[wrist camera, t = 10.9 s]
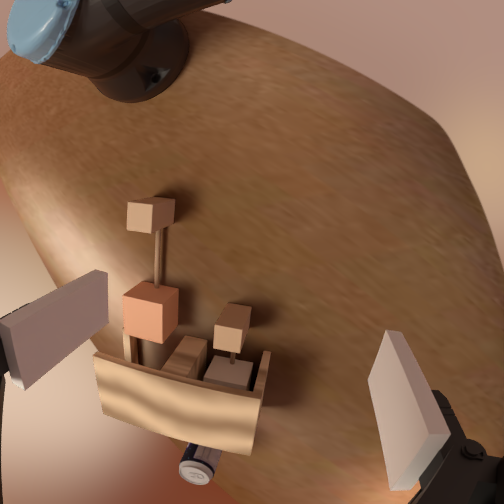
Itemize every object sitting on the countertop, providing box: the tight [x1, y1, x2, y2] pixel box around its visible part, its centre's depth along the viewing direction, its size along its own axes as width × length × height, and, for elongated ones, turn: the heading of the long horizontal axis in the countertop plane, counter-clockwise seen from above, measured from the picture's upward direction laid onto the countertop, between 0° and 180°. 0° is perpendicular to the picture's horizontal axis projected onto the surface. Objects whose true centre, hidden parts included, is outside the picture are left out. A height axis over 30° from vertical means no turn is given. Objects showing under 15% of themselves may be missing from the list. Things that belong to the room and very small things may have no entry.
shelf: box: [93, 327, 271, 456], centre depth 44 cm, size 11×23×11 cm, turn 83°
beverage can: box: [179, 442, 222, 485], centre depth 46 cm, size 6×6×12 cm
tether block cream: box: [203, 303, 253, 391], centre depth 44 cm, size 15×6×7 cm, turn 173°
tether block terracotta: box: [123, 197, 179, 344], centre depth 42 cm, size 19×6×7 cm, turn 173°
